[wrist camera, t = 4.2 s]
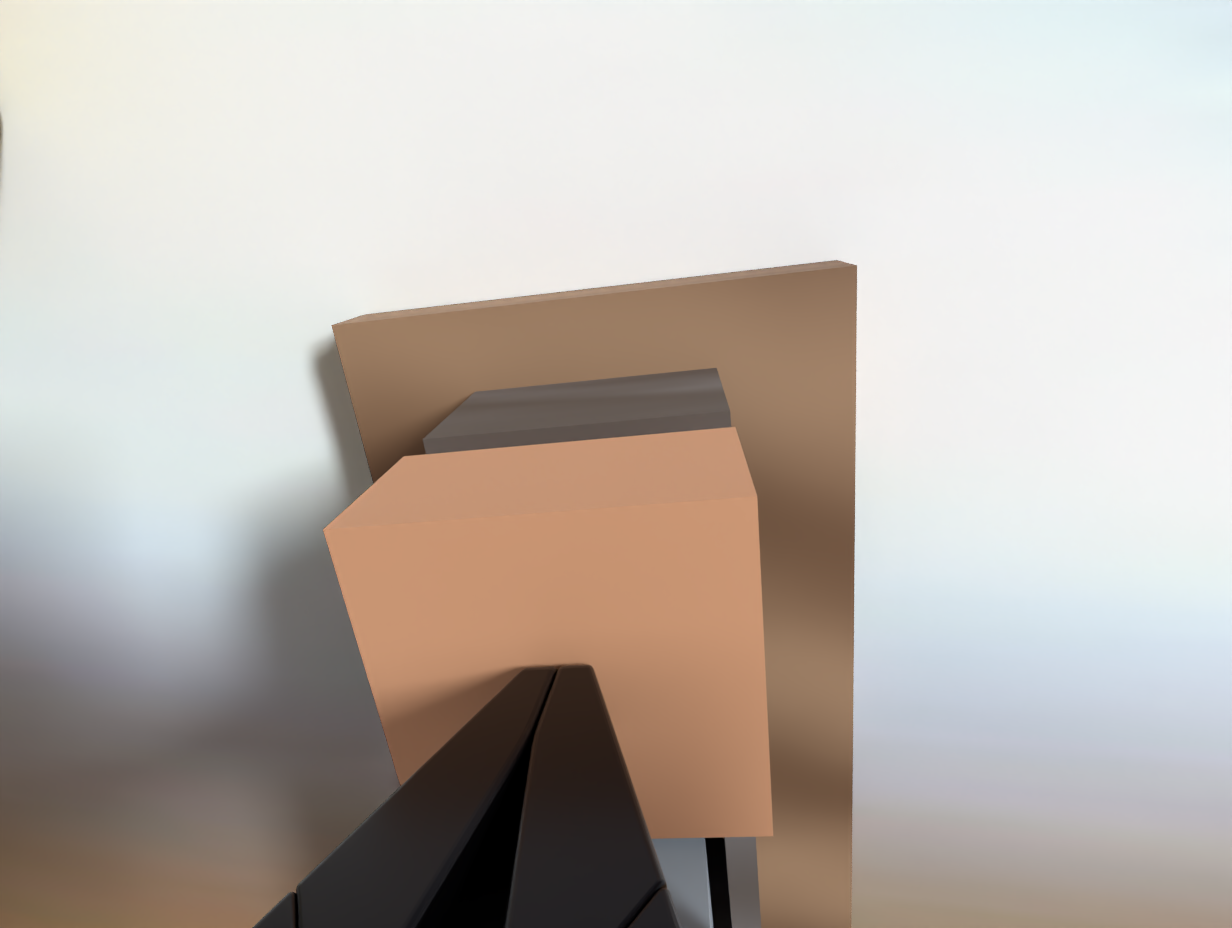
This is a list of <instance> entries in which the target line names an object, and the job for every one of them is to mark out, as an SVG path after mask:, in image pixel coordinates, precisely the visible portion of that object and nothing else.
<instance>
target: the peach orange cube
mask: <svg viewBox="0 0 1232 928" xmlns="http://www.w3.org/2000/svg"><path fill="white" fill-rule="evenodd" d="M323 532H324V535H325V538H326V541H327V545H328V548H329V551H330V555H331V558H332V561H333V565H334V568H335V571H336V575H337V578H338V581H339V585H340V588H341V591H342V594H343V598H344V601H345V604H346V608H347V611H348V614H349V618H350V621H351V624H352V628H353V631H354V634H355V637H356V641H357V644H358V647H359V651H360V654H361V657H362V661H363V664H364V667H365V671H366V674H367V677H368V681H369V684H370V687H371V690H372V694H373V697H374V700H375V704H376V707H377V710H378V714H379V717H380V720H381V724H382V727H383V730H384V733H385V737H386V740H387V743H388V747H389V750H390V753H391V757H392V760H393V763H394V767H395V770H396V773H397V776H398V780H399V783H400V786H401V785H402V784H403V783H404V782H405V781H407V780H408V779H409V778H410V777H411V776H412V775H413V774H414V773H415V772H416V771H417V770H418V769H419V768H420V767H421V766H422V765H423V764H424V763H425V762H426V761H427V760H428V759H429V758H431V757H432V756H433V755H434V754H435V753H436V752H437V751H438V750H439V749H440V748H441V747H442V746H443V745H444V744H445V743H446V742H447V741H448V740H449V739H450V738H451V737H452V736H453V735H455V734H456V733H457V732H458V731H459V730H460V729H461V728H462V727H463V726H464V725H465V724H466V723H467V722H468V721H469V720H470V719H471V718H472V717H473V716H474V715H475V714H476V713H477V712H479V711H480V710H481V709H482V708H483V707H484V706H485V705H486V704H487V703H488V702H489V701H490V700H491V699H492V698H493V697H494V696H495V695H496V694H497V693H498V692H499V691H500V690H501V689H502V688H504V687H505V686H506V685H507V684H508V683H509V682H510V681H511V680H512V679H513V678H514V677H515V676H516V675H517V674H518V673H519V672H520V671H522V670H523V669H525V668H529V667H548V666H553V667H555V668H557V669H559V668H560V667H562V666H568V665H591V666H592V667H593V668H594V671H595V674H596V677H597V680H598V683H599V686H600V689H601V692H602V694H603V697H604V700H605V703H606V706H607V709H608V712H609V715H610V718H611V721H612V724H613V727H614V730H615V733H616V736H617V739H618V742H619V745H620V748H621V750H622V753H623V756H624V759H625V762H626V765H627V768H628V771H629V774H630V777H631V780H632V783H633V786H634V789H635V792H636V795H637V798H638V801H639V804H640V807H641V809H642V812H643V815H644V818H645V821H646V824H647V827H648V830H649V833H650V836H651V839H664V838H714V837H763V836H773V818H772V797H771V776H770V755H769V734H768V712H767V691H766V670H765V649H764V628H763V607H762V586H761V565H760V544H759V522H758V501H757V494H756V491H755V487H754V484H753V481H752V478H751V475H750V472H749V468H748V465H747V462H746V459H745V456H744V453H743V450H742V446H741V443H740V440H739V437H738V434H737V431H736V427H727V428H716V429H705V430H694V431H683V432H671V433H660V434H649V435H638V436H627V437H615V438H604V439H593V440H582V441H570V442H559V443H548V444H537V445H526V446H514V447H503V448H492V449H481V450H470V451H458V452H447V453H436V454H425V455H413V456H404V457H402V458H401V459H400V460H399V461H398V462H397V463H396V464H395V465H394V466H393V467H391V468H390V469H389V470H388V471H387V472H386V473H385V474H384V475H383V476H382V477H380V478H379V479H378V480H377V481H376V482H375V483H374V484H373V485H372V486H370V487H369V488H368V489H367V490H366V491H365V492H364V493H363V494H362V495H361V496H359V497H358V498H357V499H356V500H355V501H354V502H353V503H352V504H351V505H350V506H348V507H347V508H346V509H345V510H344V511H343V512H342V513H341V514H340V515H338V516H337V517H336V518H335V519H334V520H333V521H332V522H331V523H330V524H329V525H327V526H326V527H325V528H324V529H323Z"/></svg>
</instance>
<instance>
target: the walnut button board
mask: <svg viewBox="0 0 1232 928" xmlns="http://www.w3.org/2000/svg"><path fill="white" fill-rule="evenodd" d="M856 310H857V265H853V264H849V263H845V262H842V261H838V260H835V261H826V262H818V263H809V264H800V265H792V266H783V267H774V268H765V269H757V270H748V271H739V272H731V273H722V274H713V275H705V276H696V277H687V278H679V279H670V280H661V281H653V282H644V283H635V284H627V285H618V286H609V287H601V288H592V289H583V290H575V291H566V292H557V293H549V294H540V295H531V296H522V297H514V298H505V299H496V300H488V301H479V302H470V303H462V304H453V305H444V306H436V307H427V308H418V309H410V310H401V311H392V312H384V313H375V314H366V315H362V316H359V317H356V318H353V319H350V320H347V321H344V322H340V323H337V324H334V325H332V329H333V333H334V336H335V340H336V344H337V348H338V352H339V355H340V359H341V363H342V367H343V370H344V374H345V378H346V382H347V385H348V389H349V393H350V397H351V401H352V404H353V408H354V412H355V416H356V419H357V423H358V427H359V431H360V434H361V438H362V442H363V446H364V450H365V453H366V457H367V461H368V465H369V468H370V472H371V476H372V480H373V483H375V482H376V481H377V480H378V479H379V478H380V477H382V476H383V475H384V474H385V473H386V472H387V471H388V470H389V469H390V468H391V467H393V466H394V465H395V464H396V463H397V462H398V461H399V460H400V459H401V458H402V457H404V456H413V455H425V454H436V453H447V452H458V451H470V450H481V449H492V448H503V447H514V446H526V445H537V444H548V443H559V442H570V441H582V440H593V439H604V438H615V437H627V436H638V435H649V434H660V433H671V432H683V431H694V430H705V429H716V428H727V427H736V431H737V434H738V437H739V440H740V443H741V446H742V450H743V453H744V456H745V459H746V462H747V465H748V468H749V472H750V475H751V478H752V481H753V484H754V487H755V491H756V494H757V501H758V522H759V544H760V565H761V586H762V607H763V628H764V649H765V670H766V691H767V712H768V734H769V755H770V776H771V797H772V818H773V836H763V837H714V838H705V843H706V854H707V864H708V874H709V885H710V895H711V906H712V916H713V928H851V890H852V774H853V658H854V542H855V426H856Z"/></svg>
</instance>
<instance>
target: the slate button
mask: <svg viewBox="0 0 1232 928" xmlns="http://www.w3.org/2000/svg"><path fill="white" fill-rule="evenodd" d="M652 842H653V845H654V848H655V851H656V854H657V857H658V860H659V863H660V865H661V868H662V871H663V874H664V877H665V880H666V884H667V889H668V890H669V891H670V894H671V897H672V900H673V903H674V906H675V908H676V911H677V914H678V917H679V920H680V923H681V926H682V928H713V916H712V906H711V895H710V885H709V874H708V864H707V854H706V843H705V838H664V839H652Z"/></svg>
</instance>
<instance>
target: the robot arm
mask: <svg viewBox="0 0 1232 928" xmlns="http://www.w3.org/2000/svg"><path fill="white" fill-rule="evenodd" d="M253 928H682V926H681V923H680V920H679V917H678V914H677V911H676V908H675V906H674V903H673V900H672V897H671V894H670V891H669V890H668V889H667V884H666V880H665V877H664V874H663V871H662V868H661V865H660V863H659V860H658V857H657V854H656V851H655V848H654V845H653V842H652V839H651V836H650V833H649V830H648V827H647V824H646V821H645V818H644V815H643V812H642V809H641V807H640V804H639V801H638V798H637V795H636V792H635V789H634V786H633V783H632V780H631V777H630V774H629V771H628V768H627V765H626V762H625V759H624V756H623V753H622V750H621V748H620V745H619V742H618V739H617V736H616V733H615V730H614V727H613V724H612V721H611V718H610V715H609V712H608V709H607V706H606V703H605V700H604V697H603V694H602V692H601V689H600V686H599V683H598V680H597V677H596V674H595V671H594V668H593V667H592V666H591V665H568V666H562V667H560V668H559V669H557V668H555V667H553V666H548V667H529V668H525V669H523V670H522V671H520V672H519V673H518V674H517V675H516V676H515V677H514V678H513V679H512V680H511V681H510V682H509V683H508V684H507V685H506V686H505V687H504V688H502V689H501V690H500V691H499V692H498V693H497V694H496V695H495V696H494V697H493V698H492V699H491V700H490V701H489V702H488V703H487V704H486V705H485V706H484V707H483V708H482V709H481V710H480V711H479V712H477V713H476V714H475V715H474V716H473V717H472V718H471V719H470V720H469V721H468V722H467V723H466V724H465V725H464V726H463V727H462V728H461V729H460V730H459V731H458V732H457V733H456V734H455V735H453V736H452V737H451V738H450V739H449V740H448V741H447V742H446V743H445V744H444V745H443V746H442V747H441V748H440V749H439V750H438V751H437V752H436V753H435V754H434V755H433V756H432V757H431V758H429V759H428V760H427V761H426V762H425V763H424V764H423V765H422V766H421V767H420V768H419V769H418V770H417V771H416V772H415V773H414V774H413V775H412V776H411V777H410V778H409V779H408V780H407V781H405V782H404V783H403V784H402V785H401V786H400V787H399V788H398V789H397V790H396V791H395V792H394V793H393V794H392V795H391V796H390V797H389V798H388V799H387V800H386V801H385V802H384V803H383V804H381V805H380V806H379V807H378V808H377V809H376V810H375V811H374V812H373V813H372V814H371V815H370V816H369V817H368V818H367V819H366V820H365V821H364V822H363V823H362V824H361V825H360V826H359V827H357V828H356V829H355V830H354V831H353V832H352V833H351V834H350V835H349V836H348V837H347V838H346V839H345V840H344V841H343V842H342V843H341V844H340V845H339V846H338V847H337V848H336V849H335V850H333V851H332V852H331V853H330V854H329V855H328V856H327V857H326V858H325V859H324V860H323V861H322V862H321V863H320V864H319V865H318V866H317V867H316V868H315V869H314V870H313V871H312V872H311V873H309V874H308V875H307V876H306V877H305V878H304V879H303V880H302V881H301V882H300V883H299V884H298V886H297V888H296V893H294V892H290V893H288V894H287V895H286V896H285V897H284V898H283V899H282V900H281V901H280V902H279V903H278V904H277V905H276V906H275V907H274V908H273V909H272V910H270V911H269V912H268V913H267V914H266V915H265V916H264V917H263V918H262V919H261V920H260V921H259V922H258V923H257V924H256V925H255V926H254V927H253Z"/></svg>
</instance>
